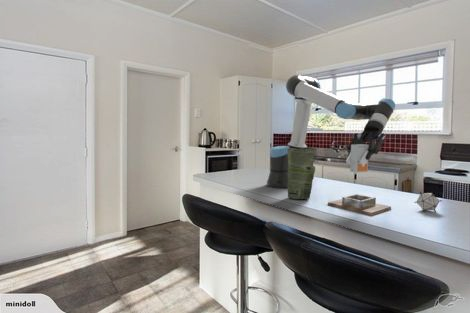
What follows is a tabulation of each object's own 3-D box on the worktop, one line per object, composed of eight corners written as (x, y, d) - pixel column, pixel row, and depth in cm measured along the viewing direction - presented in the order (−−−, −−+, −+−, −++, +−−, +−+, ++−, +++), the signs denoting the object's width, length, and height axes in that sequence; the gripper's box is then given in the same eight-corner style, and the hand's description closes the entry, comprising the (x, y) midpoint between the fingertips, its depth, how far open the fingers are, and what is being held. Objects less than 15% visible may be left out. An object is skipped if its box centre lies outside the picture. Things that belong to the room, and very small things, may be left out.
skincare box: (356, 172, 123) (357, 144, 122) (349, 171, 127) (350, 144, 126) (368, 172, 125) (369, 144, 124) (361, 171, 129) (362, 144, 128)
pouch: (283, 196, 145) (284, 146, 143) (303, 194, 149) (305, 146, 147) (295, 201, 135) (297, 148, 132) (317, 199, 139) (319, 147, 137)
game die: (426, 218, 123) (434, 198, 125) (441, 217, 115) (449, 195, 117) (407, 207, 124) (415, 187, 126) (420, 205, 116) (429, 184, 118)
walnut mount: (327, 204, 129) (328, 195, 129) (348, 199, 139) (348, 191, 138) (371, 215, 113) (371, 205, 113) (391, 209, 123) (391, 199, 122)
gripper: (399, 131, 126) (379, 171, 118) (358, 131, 141) (338, 167, 133) (394, 118, 123) (373, 159, 114) (353, 120, 138) (331, 156, 129)
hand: (354, 163), depth 124 cm, fingers closed on skincare box, 6 cm apart
